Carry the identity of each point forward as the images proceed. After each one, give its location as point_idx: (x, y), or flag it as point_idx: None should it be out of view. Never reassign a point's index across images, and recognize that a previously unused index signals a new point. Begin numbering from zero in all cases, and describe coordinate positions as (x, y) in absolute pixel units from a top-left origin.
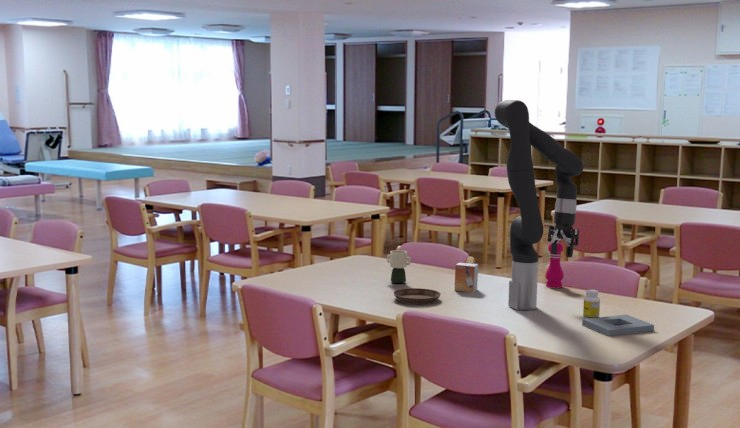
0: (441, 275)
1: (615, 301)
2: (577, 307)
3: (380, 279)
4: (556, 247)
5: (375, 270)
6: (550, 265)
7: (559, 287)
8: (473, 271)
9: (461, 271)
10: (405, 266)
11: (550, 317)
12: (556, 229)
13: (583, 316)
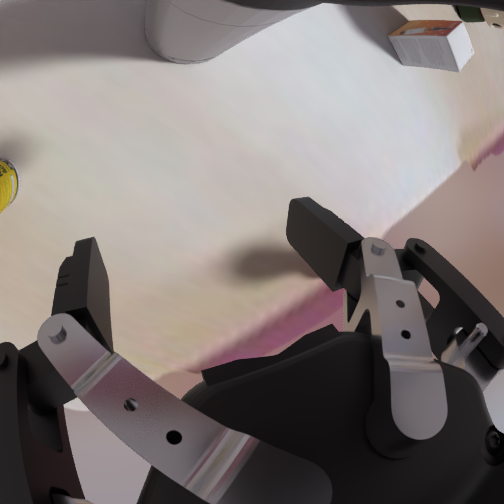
0: (472, 106)
1: (163, 328)
2: (122, 201)
3: None
4: (318, 265)
5: (497, 56)
6: None
7: None
8: (434, 34)
9: (443, 24)
10: (482, 11)
11: (44, 54)
12: (445, 411)
13: (3, 158)
